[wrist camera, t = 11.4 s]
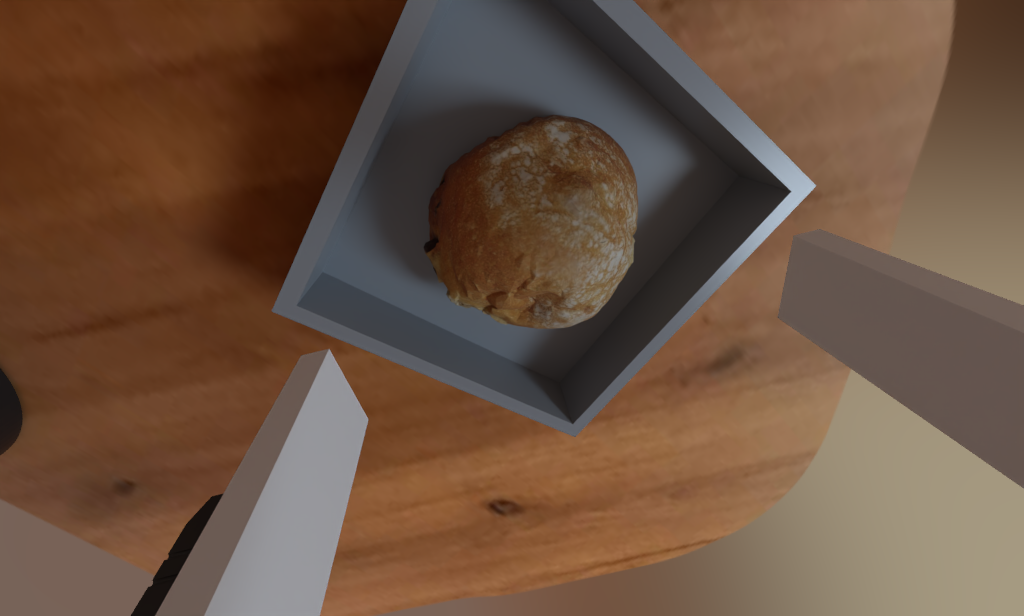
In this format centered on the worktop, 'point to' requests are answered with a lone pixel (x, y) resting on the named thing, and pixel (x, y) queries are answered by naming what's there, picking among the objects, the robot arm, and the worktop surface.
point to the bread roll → (536, 223)
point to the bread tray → (490, 112)
